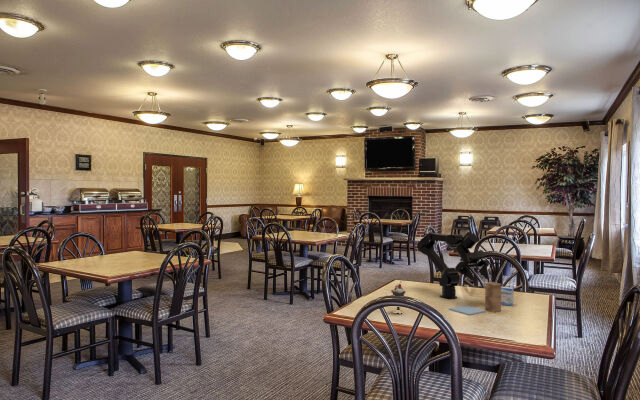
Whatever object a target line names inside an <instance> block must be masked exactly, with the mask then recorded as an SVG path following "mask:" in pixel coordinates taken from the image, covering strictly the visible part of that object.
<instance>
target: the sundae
mask: <svg viewBox="0 0 640 400" xmlns="http://www.w3.org/2000/svg"><path fill="white" fill-rule="evenodd" d="M401 283H402V281H400V283H399V284H397V285H394V289H391V291H390V292H391V293H392V296H393V295H395V296H404V297H405V294H406V291H405V290H404V289H403V286H402V284H401ZM396 310H400V311H401V308H400V307H397V306H396Z"/></svg>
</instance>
